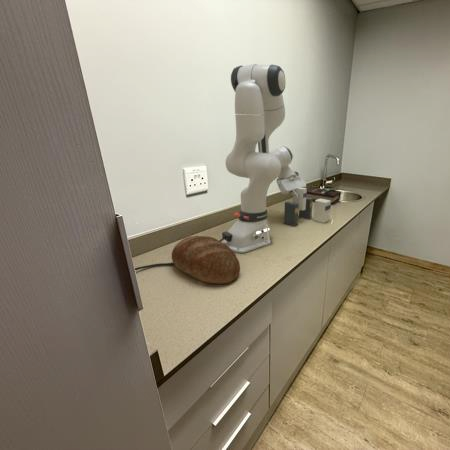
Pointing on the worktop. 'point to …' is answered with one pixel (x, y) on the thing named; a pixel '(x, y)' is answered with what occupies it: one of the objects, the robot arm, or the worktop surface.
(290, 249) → the worktop surface
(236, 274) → the bread
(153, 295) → the worktop surface
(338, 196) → the decorative book
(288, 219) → the grey book left
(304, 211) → the grey book right
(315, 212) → the white book
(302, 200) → the white book
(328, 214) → the white book
